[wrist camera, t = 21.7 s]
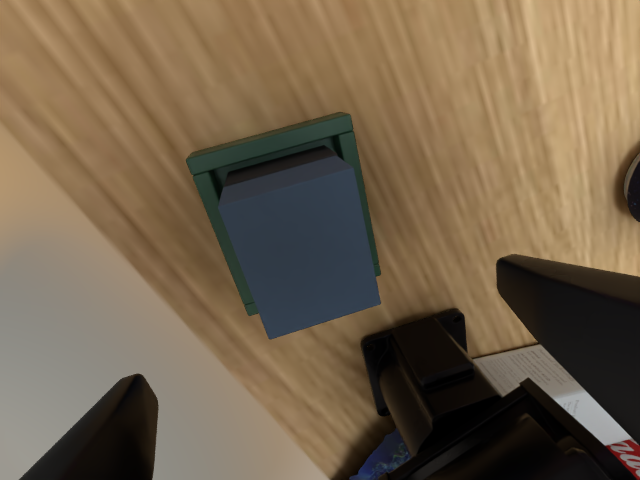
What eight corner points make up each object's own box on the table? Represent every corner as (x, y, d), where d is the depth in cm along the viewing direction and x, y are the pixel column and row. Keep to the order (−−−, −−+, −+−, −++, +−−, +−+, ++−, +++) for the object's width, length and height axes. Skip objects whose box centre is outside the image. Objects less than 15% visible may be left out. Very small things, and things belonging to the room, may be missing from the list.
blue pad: (362, 274, 16) (381, 304, 14) (266, 304, 15) (269, 340, 13) (336, 154, 14) (353, 167, 11) (222, 187, 13) (217, 206, 11)
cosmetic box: (459, 420, 26) (599, 383, 28) (500, 482, 22) (661, 434, 24) (467, 355, 23) (621, 320, 25) (515, 411, 19) (694, 364, 21)
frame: (371, 260, 19) (381, 275, 18) (248, 298, 19) (248, 317, 17) (340, 111, 16) (350, 113, 14) (191, 152, 15) (184, 159, 14)
